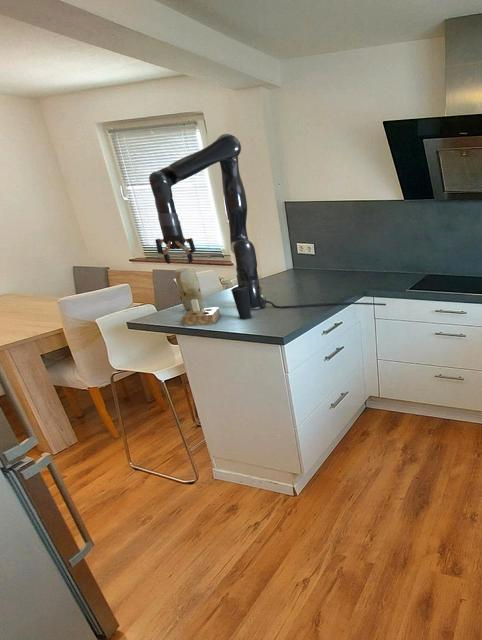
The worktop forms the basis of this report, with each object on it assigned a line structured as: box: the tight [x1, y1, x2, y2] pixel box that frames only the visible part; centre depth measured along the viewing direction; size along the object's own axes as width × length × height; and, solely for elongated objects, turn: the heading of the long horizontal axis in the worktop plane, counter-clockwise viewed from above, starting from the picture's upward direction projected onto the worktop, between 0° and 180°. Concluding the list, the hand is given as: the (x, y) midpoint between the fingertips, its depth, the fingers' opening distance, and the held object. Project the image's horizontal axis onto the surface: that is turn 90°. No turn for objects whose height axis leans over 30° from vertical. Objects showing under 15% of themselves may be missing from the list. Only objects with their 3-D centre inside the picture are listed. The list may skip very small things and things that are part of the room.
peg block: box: [181, 307, 221, 327], centre depth 171 cm, size 12×12×4 cm
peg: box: [191, 299, 200, 312], centre depth 172 cm, size 2×2×9 cm
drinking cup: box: [230, 273, 252, 320], centre depth 171 cm, size 8×8×20 cm
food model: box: [174, 267, 205, 311], centre depth 183 cm, size 10×7×20 cm
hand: (180, 263), depth 168 cm, fingers open, 8 cm apart
